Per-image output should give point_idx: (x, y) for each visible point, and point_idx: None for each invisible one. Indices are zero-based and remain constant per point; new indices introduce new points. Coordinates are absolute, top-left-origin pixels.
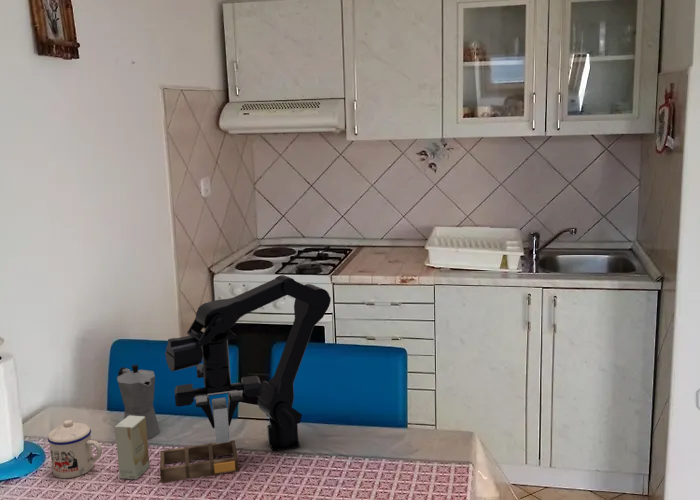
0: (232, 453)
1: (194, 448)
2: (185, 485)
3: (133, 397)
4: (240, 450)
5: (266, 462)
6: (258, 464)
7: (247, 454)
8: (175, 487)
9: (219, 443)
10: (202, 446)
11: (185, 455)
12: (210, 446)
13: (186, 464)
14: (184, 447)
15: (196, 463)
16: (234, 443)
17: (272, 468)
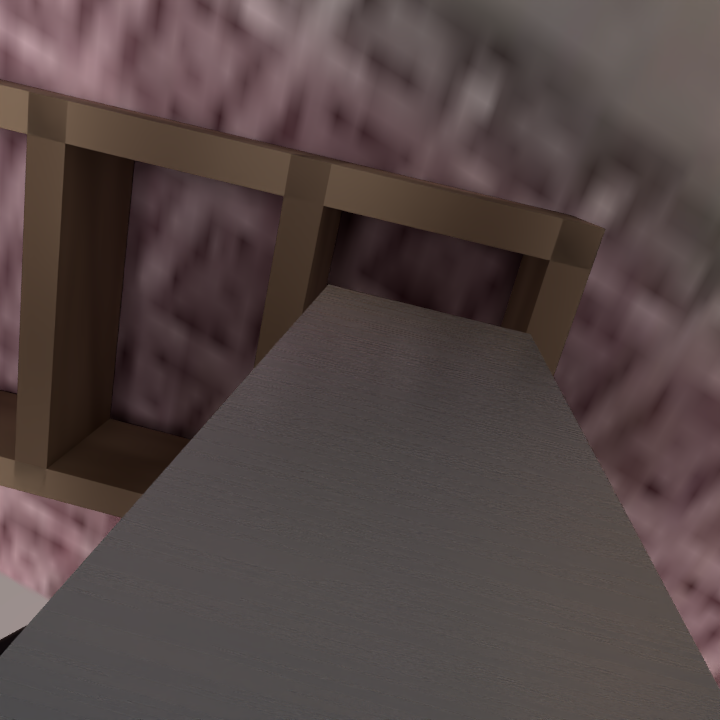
0: (515, 299)
1: (139, 158)
2: (68, 510)
3: None
4: (630, 207)
5: (715, 535)
6: (642, 529)
7: (648, 322)
8: (4, 497)
9: (414, 219)
10: (223, 178)
11: (28, 294)
12: (301, 237)
13: (26, 463)
14: (30, 95)
15: (109, 498)
16: (567, 312)
17: (702, 634)
